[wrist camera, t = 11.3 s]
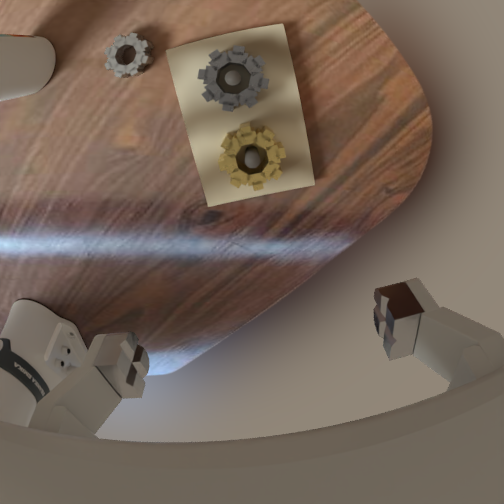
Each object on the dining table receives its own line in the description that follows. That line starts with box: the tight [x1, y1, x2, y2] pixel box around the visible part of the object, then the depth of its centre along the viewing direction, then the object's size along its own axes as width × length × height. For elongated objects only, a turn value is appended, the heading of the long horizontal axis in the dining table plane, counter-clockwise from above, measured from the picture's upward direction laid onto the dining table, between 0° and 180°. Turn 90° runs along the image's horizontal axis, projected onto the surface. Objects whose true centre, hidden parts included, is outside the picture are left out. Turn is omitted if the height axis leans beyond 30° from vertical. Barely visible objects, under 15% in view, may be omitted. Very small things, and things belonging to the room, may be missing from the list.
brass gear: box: [218, 122, 286, 191], centre depth 31 cm, size 6×6×3 cm
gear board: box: [166, 24, 315, 207], centre depth 29 cm, size 18×12×6 cm, turn 12°
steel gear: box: [197, 45, 269, 112], centre depth 27 cm, size 6×6×3 cm
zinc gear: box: [104, 33, 154, 78], centre depth 26 cm, size 5×5×2 cm
